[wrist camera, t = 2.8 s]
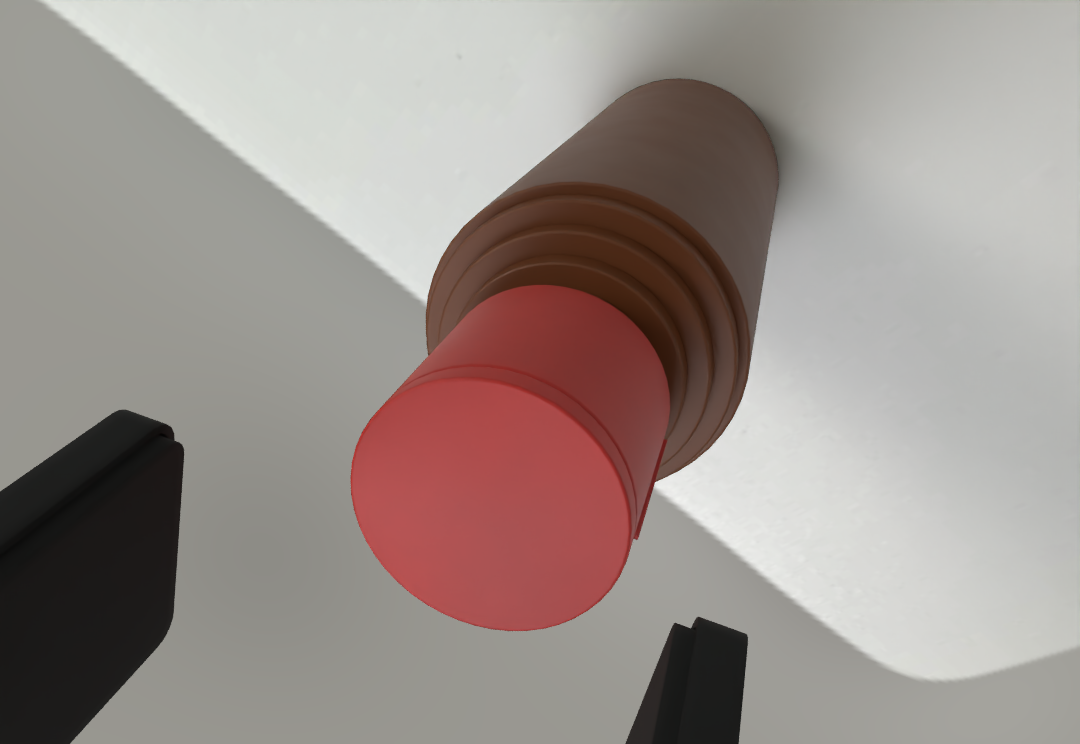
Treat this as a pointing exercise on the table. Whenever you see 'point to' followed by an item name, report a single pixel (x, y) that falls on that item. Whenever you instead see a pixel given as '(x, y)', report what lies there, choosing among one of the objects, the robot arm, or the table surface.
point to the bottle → (641, 242)
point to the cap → (516, 460)
